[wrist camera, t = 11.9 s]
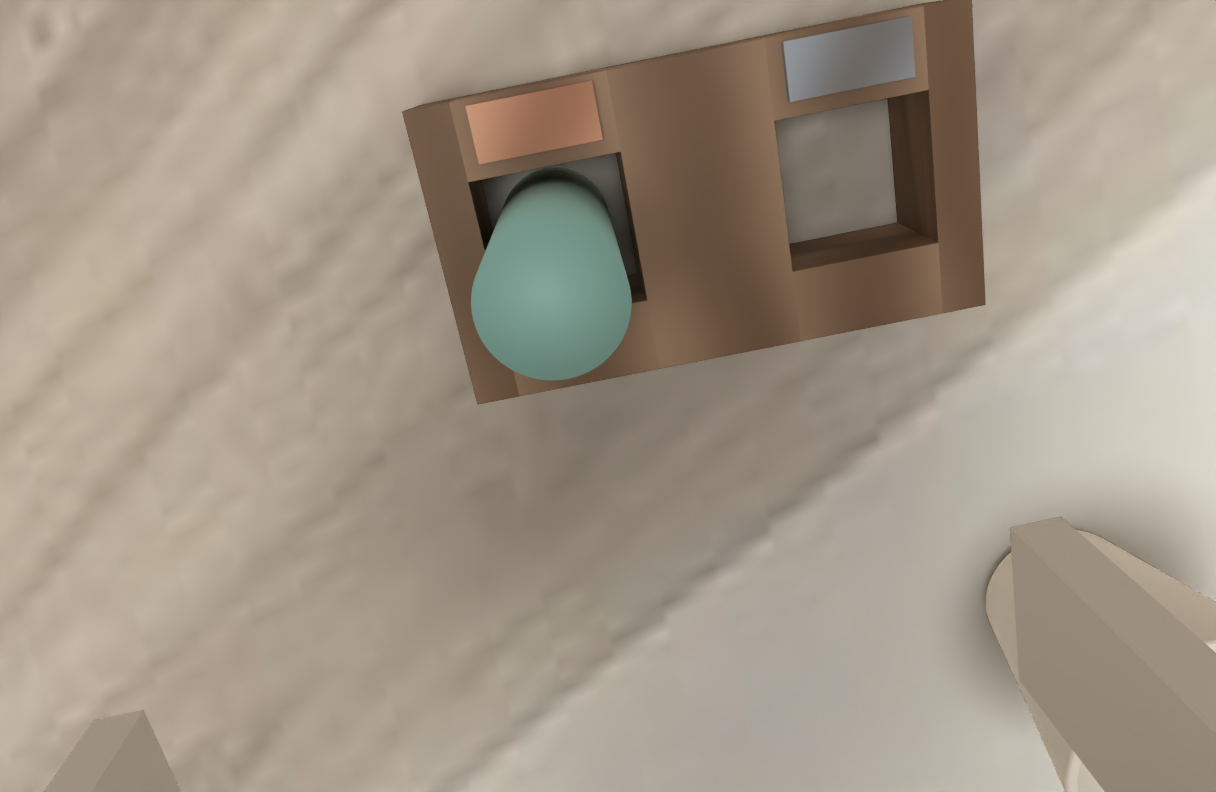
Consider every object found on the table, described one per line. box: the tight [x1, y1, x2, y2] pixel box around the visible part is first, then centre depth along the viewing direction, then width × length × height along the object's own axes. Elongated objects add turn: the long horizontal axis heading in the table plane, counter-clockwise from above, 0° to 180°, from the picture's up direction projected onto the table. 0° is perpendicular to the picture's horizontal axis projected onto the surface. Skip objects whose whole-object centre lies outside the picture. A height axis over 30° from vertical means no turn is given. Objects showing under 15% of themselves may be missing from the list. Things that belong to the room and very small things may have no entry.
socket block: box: [402, 0, 985, 404], centre depth 32 cm, size 18×10×4 cm, turn 101°
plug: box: [471, 168, 632, 380], centre depth 29 cm, size 4×4×12 cm
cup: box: [986, 530, 1216, 792], centre depth 36 cm, size 10×10×11 cm
